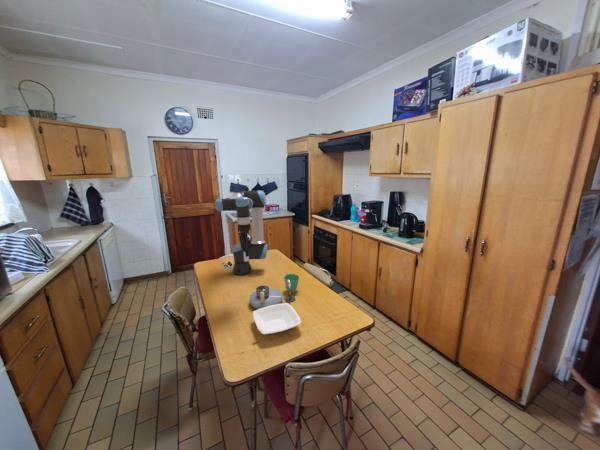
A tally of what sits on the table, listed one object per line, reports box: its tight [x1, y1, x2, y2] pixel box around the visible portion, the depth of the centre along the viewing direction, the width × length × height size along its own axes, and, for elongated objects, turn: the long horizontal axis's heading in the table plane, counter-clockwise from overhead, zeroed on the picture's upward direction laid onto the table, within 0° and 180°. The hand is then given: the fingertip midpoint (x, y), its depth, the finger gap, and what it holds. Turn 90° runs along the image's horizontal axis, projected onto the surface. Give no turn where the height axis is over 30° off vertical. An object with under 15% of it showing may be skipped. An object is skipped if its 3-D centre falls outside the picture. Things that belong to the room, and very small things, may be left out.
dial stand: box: [284, 279, 296, 304], centre depth 151 cm, size 5×5×14 cm
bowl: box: [252, 302, 302, 335], centre depth 128 cm, size 22×23×6 cm
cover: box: [255, 285, 270, 299], centre depth 149 cm, size 8×8×5 cm
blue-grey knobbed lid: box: [249, 287, 283, 310], centre depth 149 cm, size 20×20×10 cm
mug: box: [283, 272, 300, 293], centre depth 165 cm, size 15×10×10 cm
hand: (246, 260), depth 148 cm, fingers closed
